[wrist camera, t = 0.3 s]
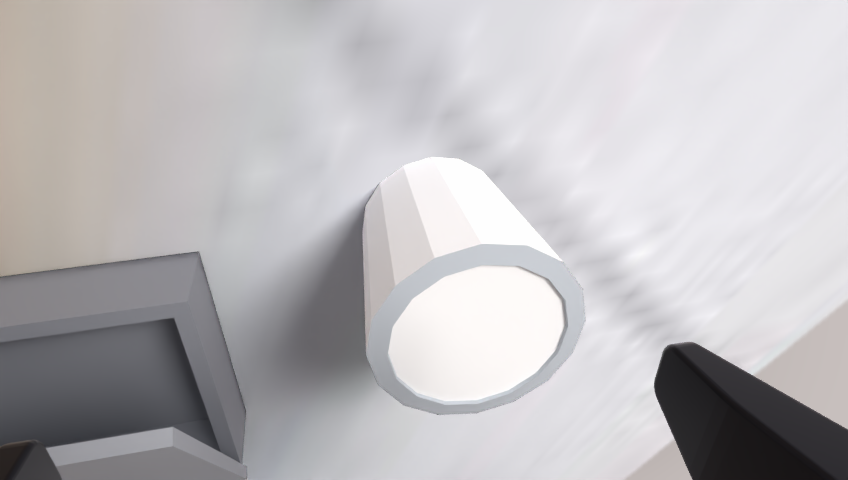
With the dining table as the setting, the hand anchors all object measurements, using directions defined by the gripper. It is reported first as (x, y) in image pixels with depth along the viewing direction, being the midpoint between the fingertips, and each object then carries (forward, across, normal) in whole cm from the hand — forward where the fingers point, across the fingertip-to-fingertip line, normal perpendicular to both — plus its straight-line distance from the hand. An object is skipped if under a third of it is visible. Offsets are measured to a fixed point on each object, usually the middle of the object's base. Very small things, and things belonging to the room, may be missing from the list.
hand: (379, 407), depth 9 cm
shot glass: (+14, -4, +6) cm, 15 cm away
